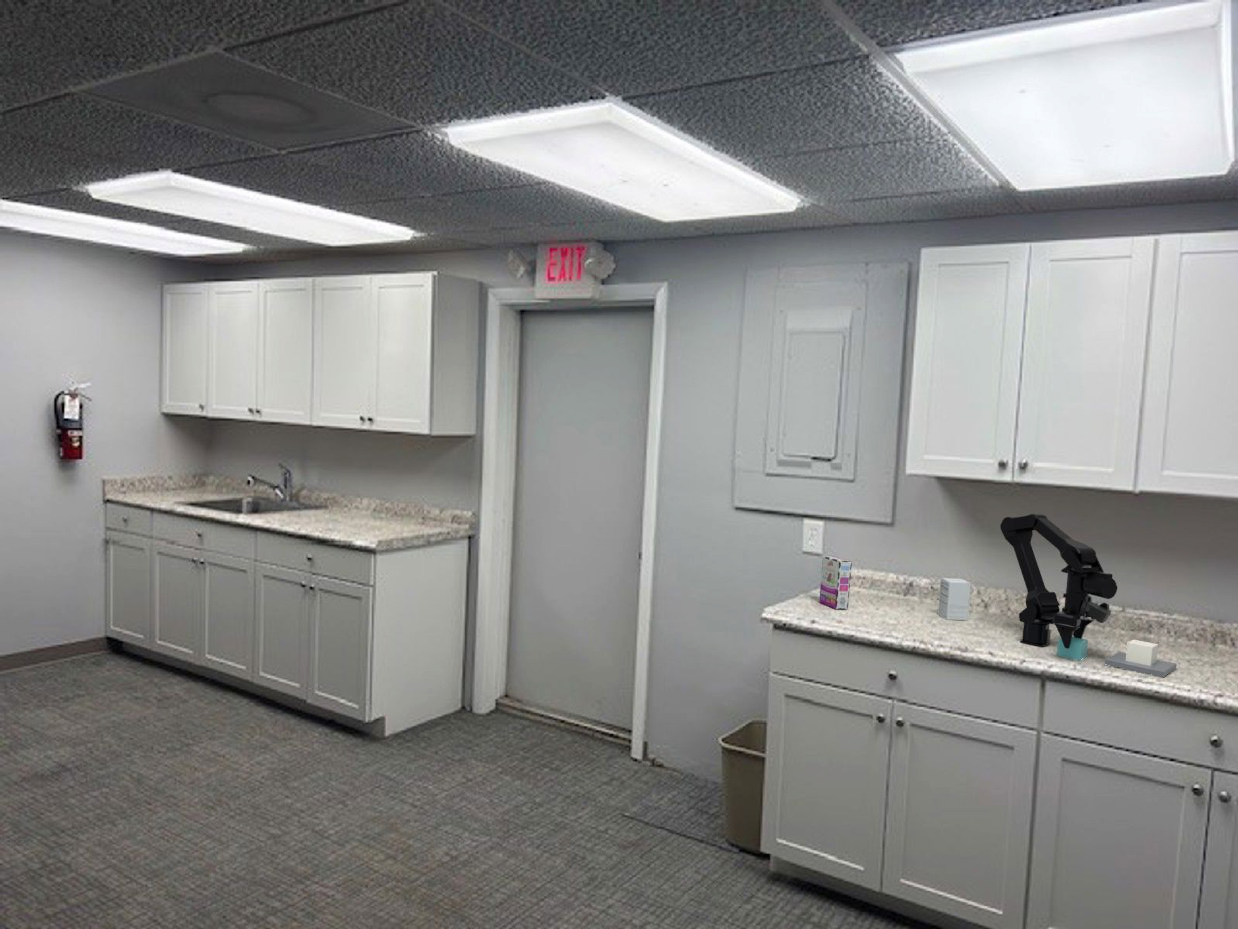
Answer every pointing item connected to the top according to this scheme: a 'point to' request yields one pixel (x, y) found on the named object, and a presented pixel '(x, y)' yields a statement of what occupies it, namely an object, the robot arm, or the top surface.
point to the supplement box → (954, 599)
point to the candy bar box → (835, 582)
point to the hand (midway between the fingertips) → (1072, 645)
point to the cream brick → (1141, 652)
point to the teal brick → (1073, 649)
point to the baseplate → (1141, 665)
